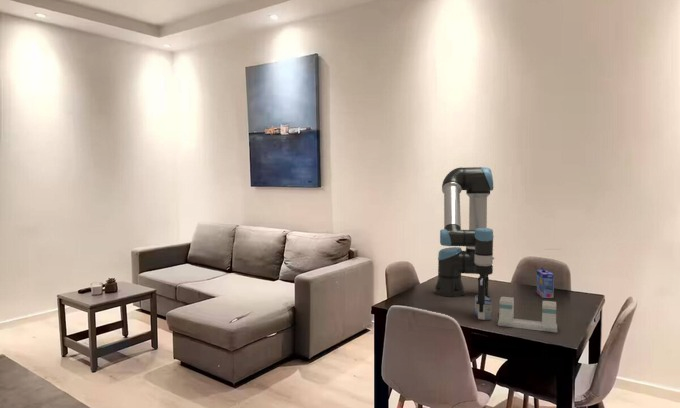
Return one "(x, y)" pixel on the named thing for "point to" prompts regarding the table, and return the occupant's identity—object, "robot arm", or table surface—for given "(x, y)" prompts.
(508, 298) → the white u-shaped block
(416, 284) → the table surface
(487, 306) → the medicine box
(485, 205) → the robot arm
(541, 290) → the ink cartridge box
